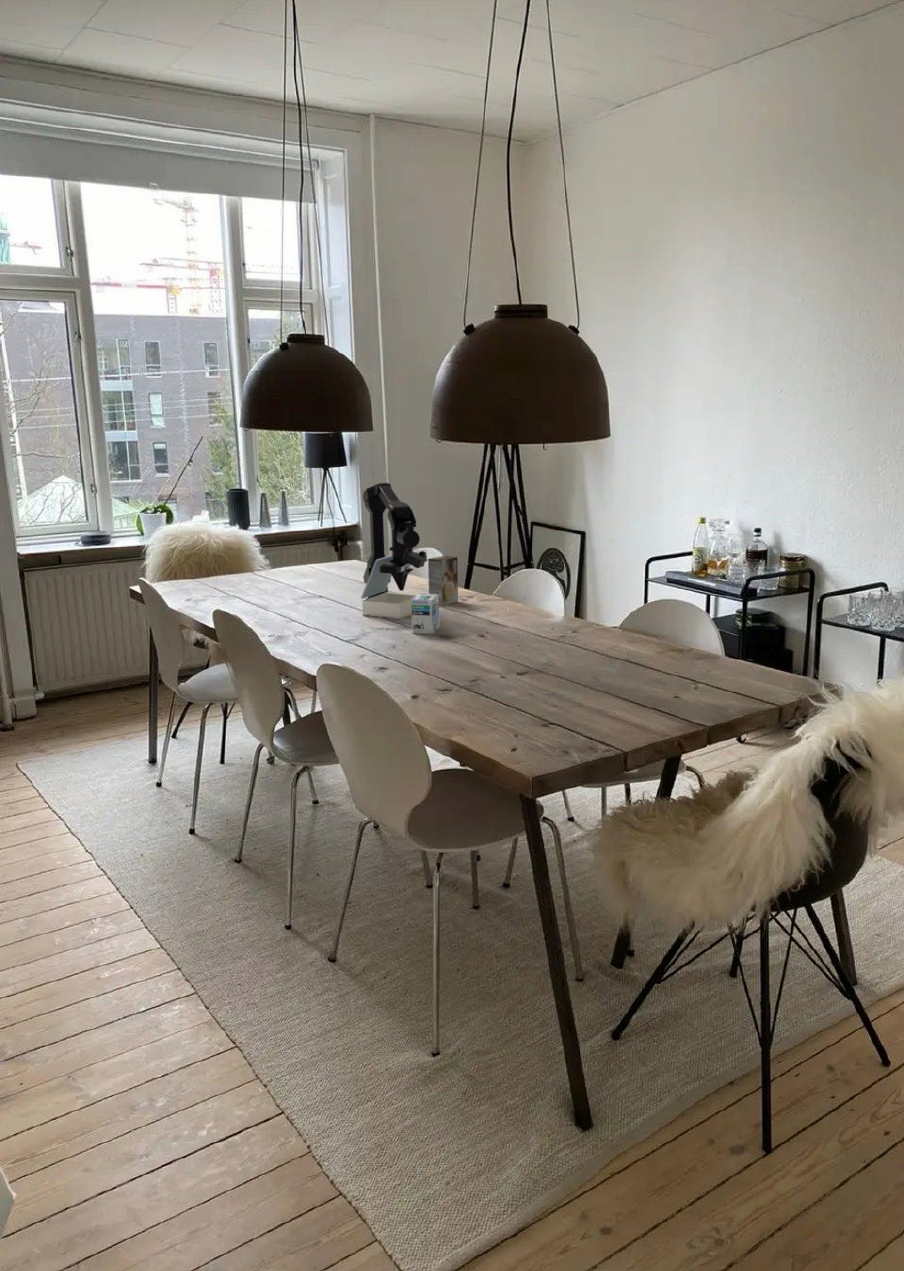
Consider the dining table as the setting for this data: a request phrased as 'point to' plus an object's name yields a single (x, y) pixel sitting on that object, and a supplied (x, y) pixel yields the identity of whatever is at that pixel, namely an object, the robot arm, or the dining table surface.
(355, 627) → the dining table surface
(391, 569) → the robot arm
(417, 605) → the light bulb box
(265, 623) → the dining table surface
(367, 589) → the lid flap
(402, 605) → the open box
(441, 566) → the coffee box
